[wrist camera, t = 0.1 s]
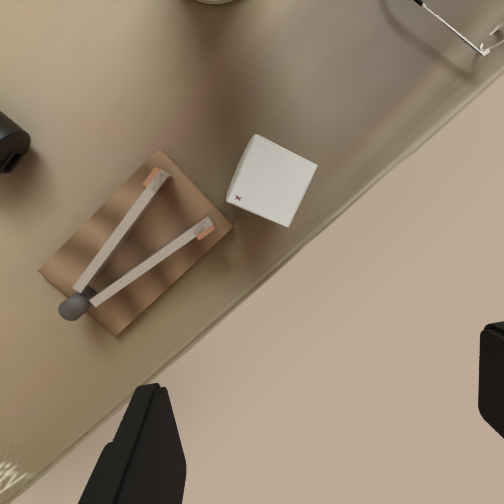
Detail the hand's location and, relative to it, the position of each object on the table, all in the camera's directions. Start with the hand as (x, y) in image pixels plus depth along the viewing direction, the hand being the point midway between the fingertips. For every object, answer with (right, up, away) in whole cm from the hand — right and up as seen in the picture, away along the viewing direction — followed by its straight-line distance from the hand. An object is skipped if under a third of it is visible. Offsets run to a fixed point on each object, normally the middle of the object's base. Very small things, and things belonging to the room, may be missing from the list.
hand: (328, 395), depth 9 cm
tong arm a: (-19, +8, +33) cm, 39 cm away
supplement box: (-1, +14, +35) cm, 38 cm away
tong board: (-18, +5, +36) cm, 41 cm away
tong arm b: (-15, +3, +34) cm, 38 cm away
